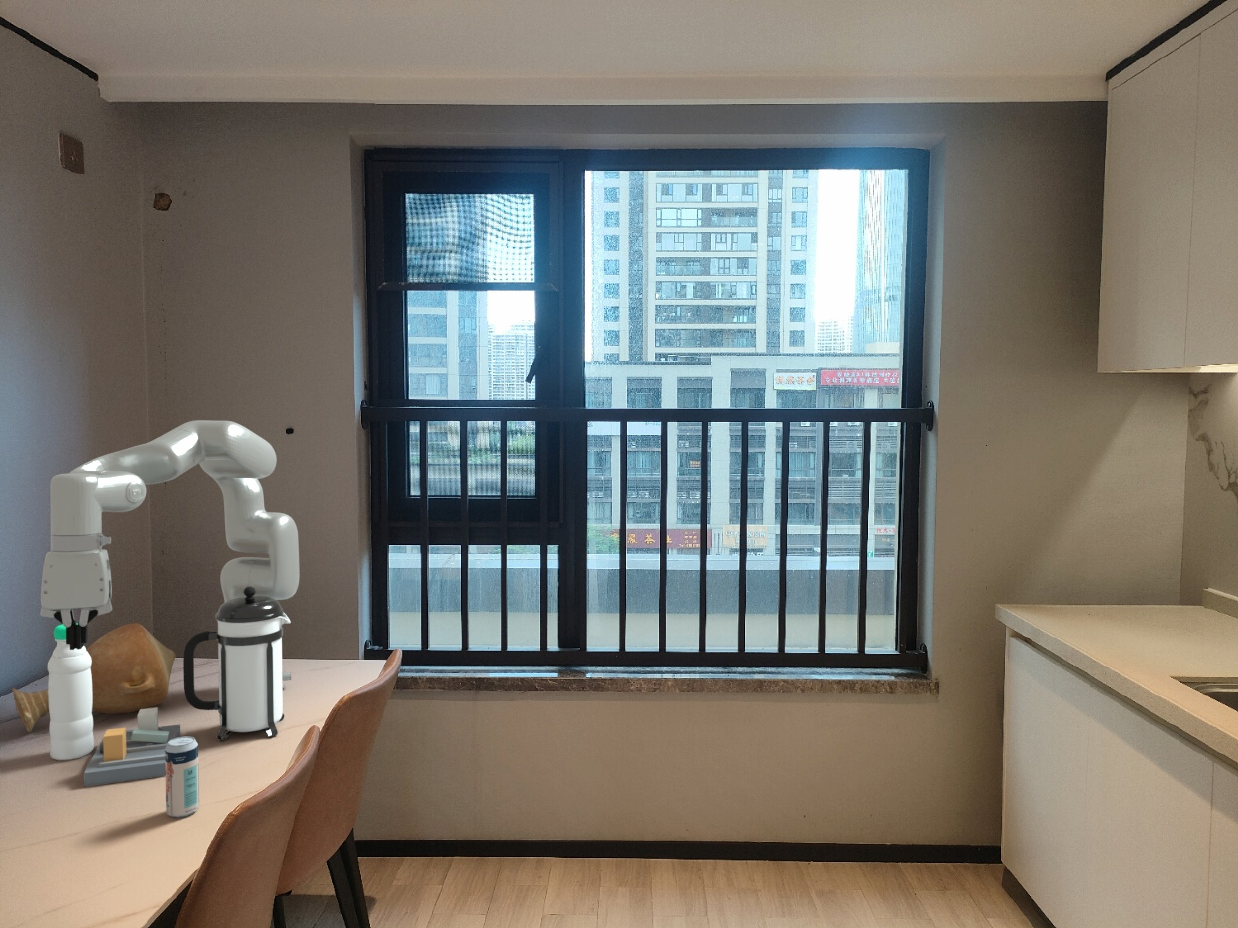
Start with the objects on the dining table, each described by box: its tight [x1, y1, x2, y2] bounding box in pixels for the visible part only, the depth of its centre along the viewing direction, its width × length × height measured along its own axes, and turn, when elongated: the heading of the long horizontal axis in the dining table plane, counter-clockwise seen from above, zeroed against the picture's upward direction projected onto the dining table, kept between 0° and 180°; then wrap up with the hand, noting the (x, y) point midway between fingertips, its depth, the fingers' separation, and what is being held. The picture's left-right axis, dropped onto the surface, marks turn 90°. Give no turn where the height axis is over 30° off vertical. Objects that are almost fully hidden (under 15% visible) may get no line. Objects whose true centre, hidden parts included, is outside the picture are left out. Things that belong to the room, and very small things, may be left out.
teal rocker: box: [131, 728, 169, 743], centre depth 160 cm, size 6×2×1 cm, turn 112°
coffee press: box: [182, 586, 291, 742], centre depth 173 cm, size 17×16×30 cm
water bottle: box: [47, 622, 95, 761], centre depth 160 cm, size 7×7×25 cm
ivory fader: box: [137, 706, 159, 731], centre depth 164 cm, size 3×4×5 cm
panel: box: [83, 724, 181, 787], centre depth 159 cm, size 13×20×4 cm, turn 22°
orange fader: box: [102, 727, 127, 762], centre depth 153 cm, size 3×4×5 cm
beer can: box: [165, 735, 200, 818], centre depth 138 cm, size 5×5×12 cm
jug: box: [11, 622, 177, 733], centre depth 181 cm, size 20×19×30 cm
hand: (76, 647), depth 148 cm, fingers closed
